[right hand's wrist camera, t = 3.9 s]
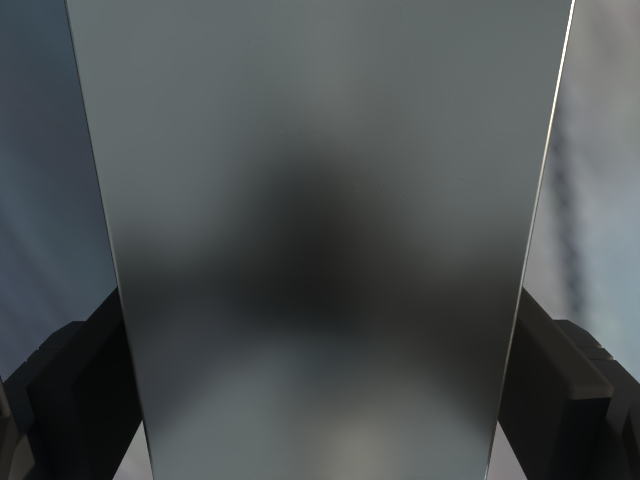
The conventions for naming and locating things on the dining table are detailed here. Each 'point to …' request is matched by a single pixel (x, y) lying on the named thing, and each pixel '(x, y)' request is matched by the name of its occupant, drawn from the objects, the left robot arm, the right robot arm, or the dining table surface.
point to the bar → (319, 223)
